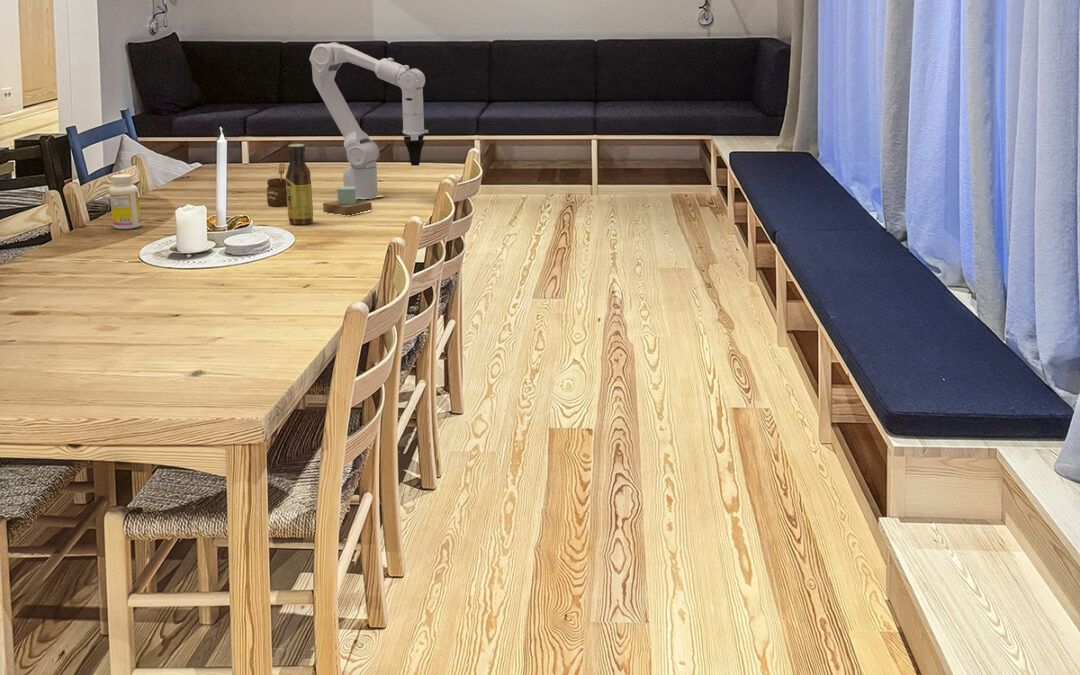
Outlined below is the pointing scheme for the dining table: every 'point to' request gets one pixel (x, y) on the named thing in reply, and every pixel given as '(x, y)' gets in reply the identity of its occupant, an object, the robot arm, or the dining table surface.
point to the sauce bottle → (298, 187)
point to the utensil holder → (277, 189)
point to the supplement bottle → (124, 202)
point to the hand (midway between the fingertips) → (414, 163)
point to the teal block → (346, 195)
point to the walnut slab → (346, 207)
